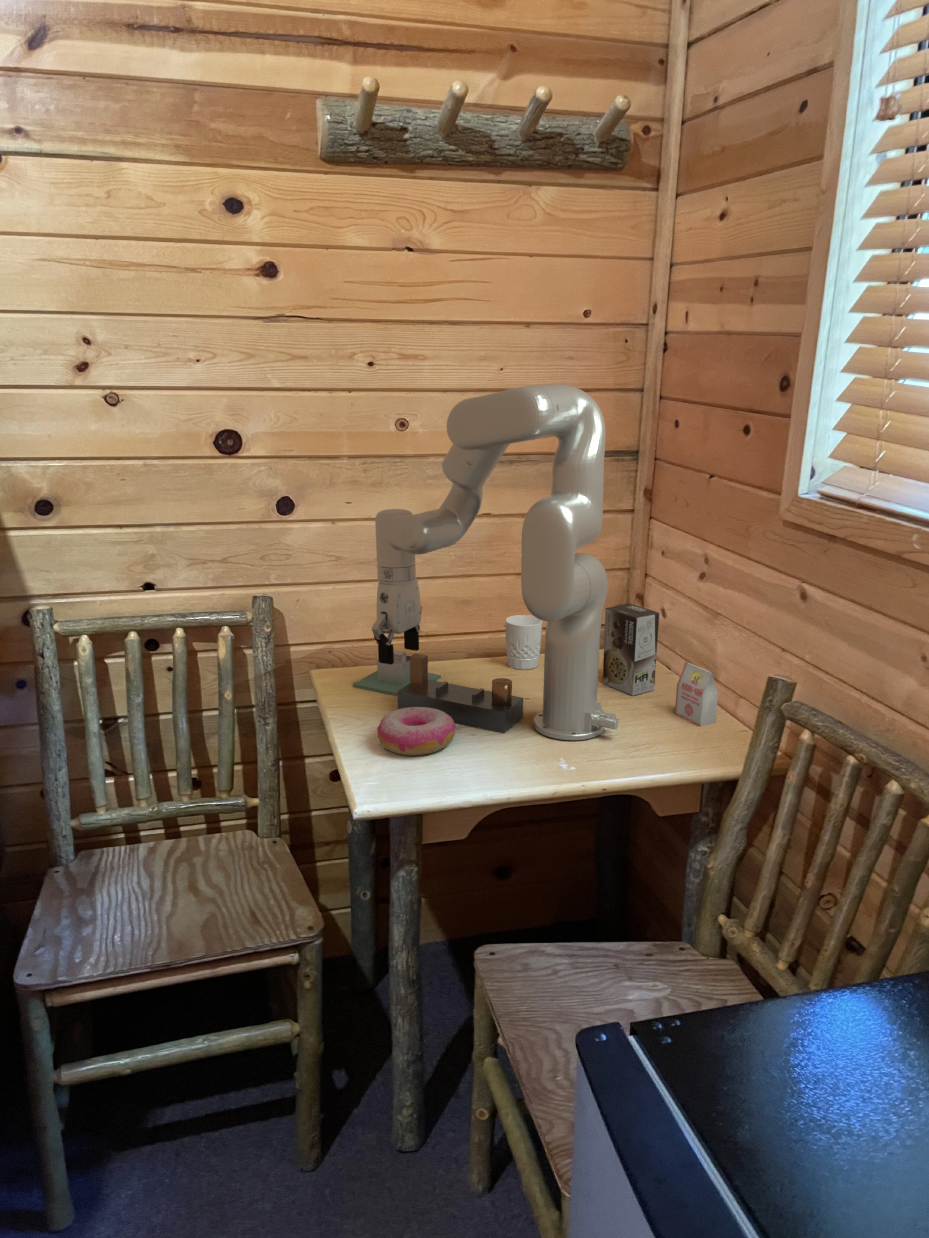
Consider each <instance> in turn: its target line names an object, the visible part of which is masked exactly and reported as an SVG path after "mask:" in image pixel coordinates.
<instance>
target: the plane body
mask: <svg viewBox="0 0 929 1238" xmlns="http://www.w3.org/2000/svg"><path fill="white" fill-rule="evenodd" d="M409 656H410V684H408V685H406V686H405V687H403V688H401V689H400V690H398V691H397V693H398V696H397V710H398V709H402V708H409V707H427V708H434V709H438V710H441V711H443V712H445V713H446V714H448V715H449V716H450V717H451V718H452V719H453V721H454V723H455V724H458V725H464V726H466V727H467V726H468V727H472V728H476V729H482V730H487V731H490V732H491V731H492V732H496V733H501V734H505V733H507V732H508V731H509V730H510V729H512V728H513V727H514V726H516V724H518V723H519V722H520V721H521V720H522V719H523V718H524V696H522V697H521V696H516V695H513V680H511V679H510V678H505V677H498V678H493V679H492V680H491V690H490V691H489V690H485V688H481V687H480V688H476V687H475V688H473V687H470V686H463V685H459V684H455V683H449V681H444V682H443V681H439V680H437V681H434V680H428V673H429V666H428V665H429V660H428V659H429V656H428V655H427V654H421V653H413V654H412V655H409Z"/></svg>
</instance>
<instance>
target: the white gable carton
mask: <svg viewBox="0 0 929 1238" xmlns="http://www.w3.org/2000/svg"><path fill="white" fill-rule="evenodd" d="M675 695H676V696H675V704H674V706H675V707H674V715H676V716H678V717H680V718H682V719H684V720H686V721H688V722H689V723H692V724H694V725H696V726H698V727H705V726H707V725H709V726H710V725H713V724H716V719H717V709H718V699H719V691H718V688H717V685H716V682H715V679H714V673H713V672H712V671H709V670H707V669H705V668H703V667H700V666H697V665H695V664H693V663H691V662H688V661H687V662H686V661H685V663H684V665H683V669H682V672H681V674H680V676H679V679H678V681H677V683H676V693H675Z"/></svg>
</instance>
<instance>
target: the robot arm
mask: <svg viewBox="0 0 929 1238" xmlns="http://www.w3.org/2000/svg"><path fill="white" fill-rule="evenodd" d="M604 418H605V417H604V415H603V412H602V410H601V409H600V407H599V405H598V403H597V402H596V401H595V399H594V398H593V397H592V396H591V395H590V394H588V393H587V392H585V391H584V390H582V389H580V388H578V387H575V386H572V385H569V384H559V383H553V384H552V383H551V384H540V385H525V386H519V387H515V388H510V389H506V390H501V391H498V392H493V393H488V394H483V395H480V396H475V397H468V398H464V399H463V400H460V401H459V402H458V403H456V404H455V405H454V406H453V408H452V409H451V410H450V412H449V414H448V416H447V419H446V433H447V436H448V439H449V440H450V442H451V443H452V445H451V447H450V448H449V450H448V452H447V454H446V455H445V456H444V458H443V460H442V462H441V469H442V472H443V474H444V475H445V477H446V478H447V480H449V481H450V482H451V483H452V486H451V488H450V490H449V492H448V494H447V496H446V497H445V499H444V501H442V503H441V505H440V506H439V508H437V509H433V510H432V509H431V510H427V511H425V512H424V511H423V512H420V513H416V514H413V512H412V511H410V510H408V509H401V508H391V509H389V508H388V509H383V510H381V511H378V512H377V513H376V515H375V522H374V523H375V524H374V525H375V526H374V527H375V544H376V545H375V546H376V550H375V551H376V573H377V574H376V575H377V577H376V578H377V582H378V583H377V591H376V620H375V622H374V624H373V625H372V626H371V631H372V633H373V638H374V640H375V643H376V644H377V649H378V652H377V654H378V655H377V657H378V659H379V662H380V663H384V664H390V665H392V664H393V663H394V651H395V650H394V644H393V643H392V642H393V640H394V636H395V634H396V635H399V634H403V643H404V644H403V645H404V649H405V650H409V651H419V650H420V637H419V636H420V635H419V634H420V633H419V631H420V630H421V626H420V623H421V621H422V612H423V606H422V605H421V596H420V588H419V587H420V586H419V582H418V579H417V573H416V572H417V571H416V568H417V567H416V555H419V556H420V555H426V554H428V553H432V552H435V551H437V550H441V549H444V548H447V547H448V548H449V547H451V546H453V545H455V544H457V543H459V541H460V540H462V538H463V537H464V536H465V534H466V533H467V532H468V530H469V528H471V525H472V524H473V523H474V521H475V520H476V518H477V516H478V515H479V512H480V509H481V506H482V500H483V495H484V490H483V489H484V485H485V483H486V482H487V480H488V478H489V477H490V475H491V474H492V472H493V471H494V469H495V467H496V466H497V464H498V463H499V461H500V460H501V458H502V456H503V455H504V454H505V452H506V451H507V449H508V447H509V446H510V445H511V444H516V443H523V442H528V441H535V440H540V439H548V438H553V437H554V438H556V439H557V440H558V445H557V448H556V450H555V453H554V457H553V460H552V461H553V462H552V469H551V470H552V472H551V473H552V481H551V494H550V496H547V497H544V498H541V499H540V500H538V501H536V502H535V503H534V504H532V506H531V507H530V508H529V509H528V511H527V513H526V515H525V517H524V520H523V522H522V528H521V529H522V530H521V558H520V559H521V560H520V561H521V562H520V563H521V564H520V566H521V573H520V577H521V578H520V586H521V595H522V599H523V603H524V605H525V607H526V608H527V609H526V610H528V611H529V613H530V614H531V616H535V617H536V618H538V619H540V620H543V621H544V622H546V627H545V635H544V636H545V637H544V638H545V640H544V659H543V660H544V662H543V664H544V665H543V692H542V693H543V695H542V711H540V712H539V713H537V714H536V715H535V716H534V717H533V727H534V729H535V730H536V732H538V733H539V734H542V735H544V736H546V737H549V738H551V739H552V738H553V739H556V740H562V741H583V740H590V739H592V738H596V737H598V736H600V735H601V734H602V733H603V732H604V730H605V728H606V729H609V730H618V727H619V718H617V715H616V713H611V712H604V710H602V705H603V704H602V703H601V702H597V700H598V683H599V682H598V679H599V666H600V665H599V663H600V647H601V632H602V620H603V615H604V608H605V604H606V599H607V594H608V585H609V584H608V575H607V572H606V569H605V567H604V565H603V564H602V563H601V561H599V559H598V558H597V557H595V556H594V555H591V554H589V553H584V552H576V550H577V549H580V548H583V547H586V546H588V545H589V544H591V543H593V542H594V541H596V539H598V538H599V536H600V534H601V531H602V529H603V519H604V518H603V517H604V515H603V514H604V513H603V512H604V510H603V509H604V508H603V507H604V485H605V475H604V474H605V454H606V452H605V450H606V437H607V436H606V435H607V432H606V422H605V419H604ZM385 634H386V635H385ZM387 634H388V635H387Z"/></svg>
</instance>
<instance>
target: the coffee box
mask: <svg viewBox="0 0 929 1238" xmlns="http://www.w3.org/2000/svg"><path fill="white" fill-rule="evenodd" d="M604 612H605V613H604V614H605V615H604V633H603V634H604V638H603V640H604V641H603V659H602V660H603V661H602V662H603V664H602V666H603V667H602V683H601V684H603V685H606V686H608V687H611V688H614V689H616V690H618V691H621V692H623V693H625V694H628V695H631V696H632V697H633V696H637V695H641V694H646V693H648V692H652V691H654V690H655V683H656V667H657V653H658V637H659V627H660V626H659V623H660V621H659V620H660V612H659V611H655V610H651V609H649V608H645V607H641V606H638V605H636V604H635V605H634V604H631V603H628V602H627V603H622V604H617V605H613V606H609V607H605V611H604Z"/></svg>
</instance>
